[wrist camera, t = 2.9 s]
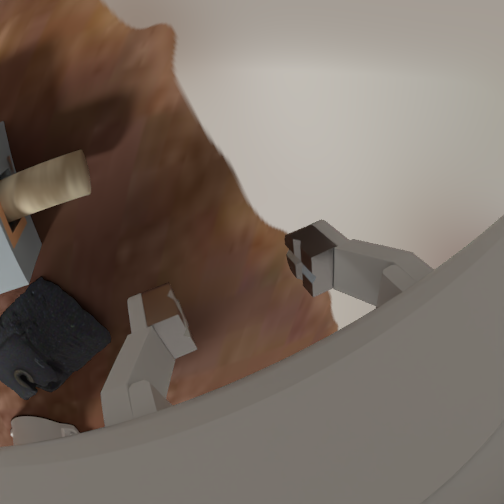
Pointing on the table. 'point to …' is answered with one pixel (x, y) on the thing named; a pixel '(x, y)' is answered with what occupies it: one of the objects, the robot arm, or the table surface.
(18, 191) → the dowel peg
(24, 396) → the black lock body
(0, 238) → the socket block
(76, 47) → the table surface
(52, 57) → the table surface
